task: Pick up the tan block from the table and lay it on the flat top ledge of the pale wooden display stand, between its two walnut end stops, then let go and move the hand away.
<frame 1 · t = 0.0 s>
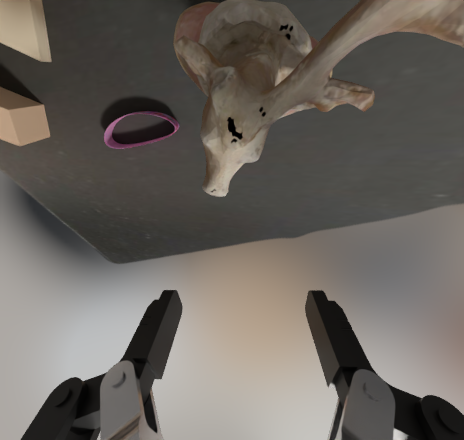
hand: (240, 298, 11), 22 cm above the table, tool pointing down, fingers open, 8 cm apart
headband: (143, 127, 26), on the table
decorative bust: (240, 87, 23), on the table
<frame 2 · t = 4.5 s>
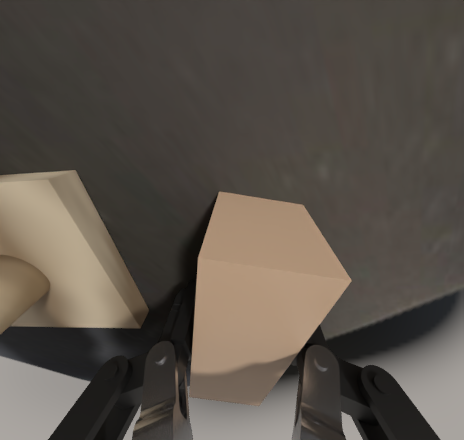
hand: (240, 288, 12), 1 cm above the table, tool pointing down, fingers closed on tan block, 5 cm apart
tan block: (241, 275, 12), on the table, touching gripper
display stand: (42, 259, 13), on the table
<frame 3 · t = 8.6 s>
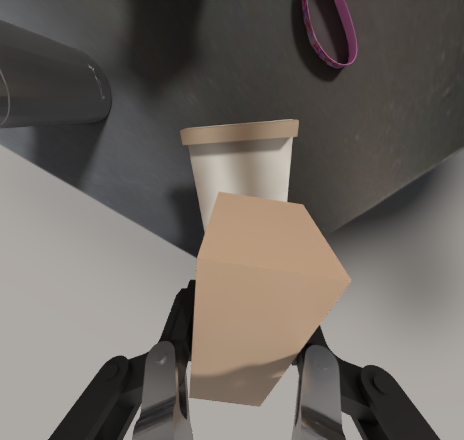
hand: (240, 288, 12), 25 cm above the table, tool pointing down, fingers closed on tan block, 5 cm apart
headband: (323, 27, 23), on the table
tan block: (241, 275, 12), point 23 cm above the table, touching gripper
display stand: (243, 175, 33), on the table
when the fingers open (16 cm above the table, at t = 10.9 s): tan block drops 1 cm, resting on display stand.
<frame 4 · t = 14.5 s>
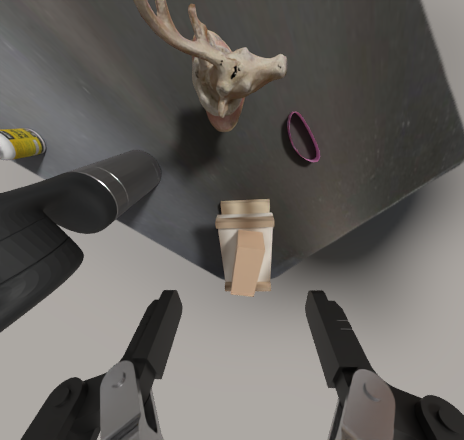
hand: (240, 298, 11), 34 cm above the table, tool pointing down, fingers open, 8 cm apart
headband: (300, 138, 37), on the table
supplement bottle: (34, 141, 41), on the table
tan block: (246, 255, 36), point 14 cm above the table, touching display stand
decorative bust: (234, 94, 34), on the table
display stand: (245, 220, 48), on the table
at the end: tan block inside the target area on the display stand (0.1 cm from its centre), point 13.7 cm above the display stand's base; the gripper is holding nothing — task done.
